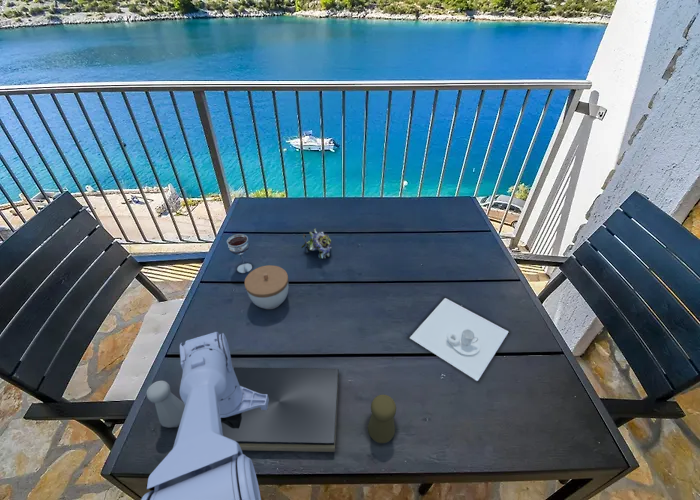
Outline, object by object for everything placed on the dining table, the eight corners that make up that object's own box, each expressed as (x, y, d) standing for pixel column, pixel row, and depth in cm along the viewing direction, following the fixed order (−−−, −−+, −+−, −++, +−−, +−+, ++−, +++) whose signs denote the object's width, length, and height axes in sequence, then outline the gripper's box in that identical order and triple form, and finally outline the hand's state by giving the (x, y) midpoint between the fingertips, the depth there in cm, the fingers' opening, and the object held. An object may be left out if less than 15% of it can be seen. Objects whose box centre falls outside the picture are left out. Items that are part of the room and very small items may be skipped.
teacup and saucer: (442, 343, 95) (444, 333, 92) (456, 325, 99) (458, 316, 97) (472, 361, 90) (475, 352, 88) (485, 342, 95) (489, 332, 92)
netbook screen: (334, 445, 72) (334, 443, 71) (209, 443, 72) (208, 441, 72) (338, 370, 86) (338, 368, 86) (234, 369, 87) (233, 367, 86)
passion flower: (327, 267, 128) (329, 259, 116) (298, 262, 127) (297, 253, 116) (332, 238, 131) (335, 228, 120) (304, 233, 130) (303, 222, 119)
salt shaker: (184, 432, 77) (163, 402, 69) (158, 431, 77) (135, 401, 69) (193, 406, 81) (175, 375, 73) (169, 406, 82) (149, 375, 73)
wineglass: (243, 259, 123) (235, 232, 116) (258, 264, 121) (252, 237, 113) (230, 271, 118) (222, 243, 111) (246, 276, 116) (238, 248, 109)
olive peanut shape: (372, 446, 74) (373, 421, 67) (364, 418, 79) (365, 393, 72) (398, 439, 75) (403, 414, 68) (389, 412, 80) (393, 386, 73)
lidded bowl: (296, 308, 105) (292, 282, 98) (254, 321, 101) (246, 294, 94) (285, 281, 114) (281, 256, 107) (246, 292, 110) (239, 266, 103)
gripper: (267, 365, 63) (277, 403, 71) (187, 364, 63) (207, 402, 71) (258, 403, 57) (270, 440, 65) (170, 402, 57) (194, 438, 66)
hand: (237, 423), depth 68 cm, fingers closed
